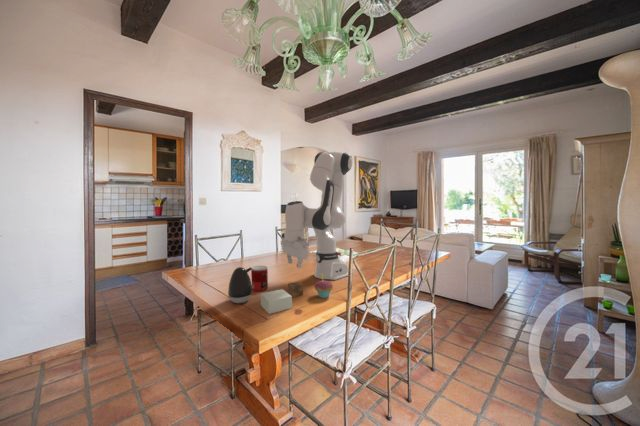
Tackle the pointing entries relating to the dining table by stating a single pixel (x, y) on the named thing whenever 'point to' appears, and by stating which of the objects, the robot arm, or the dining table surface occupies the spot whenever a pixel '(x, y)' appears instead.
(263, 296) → the pedestal
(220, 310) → the dining table surface
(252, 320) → the dining table surface
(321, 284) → the cupcake
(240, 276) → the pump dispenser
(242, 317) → the dining table surface
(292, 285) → the walnut cube
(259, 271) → the canned food
